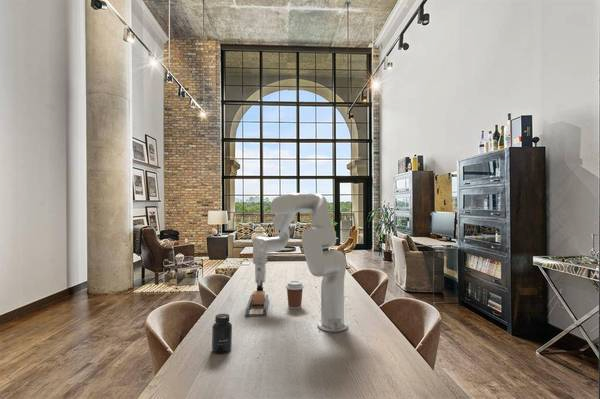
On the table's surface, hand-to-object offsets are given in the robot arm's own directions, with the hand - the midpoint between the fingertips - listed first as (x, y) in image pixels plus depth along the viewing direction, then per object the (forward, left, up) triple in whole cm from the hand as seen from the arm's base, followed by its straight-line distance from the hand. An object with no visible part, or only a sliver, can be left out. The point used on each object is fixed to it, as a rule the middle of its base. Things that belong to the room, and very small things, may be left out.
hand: (259, 294), depth 174 cm
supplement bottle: (-58, +9, -3) cm, 59 cm away
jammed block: (-9, 0, -1) cm, 9 cm away
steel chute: (-14, 0, -3) cm, 14 cm away
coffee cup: (-12, -18, -3) cm, 22 cm away
